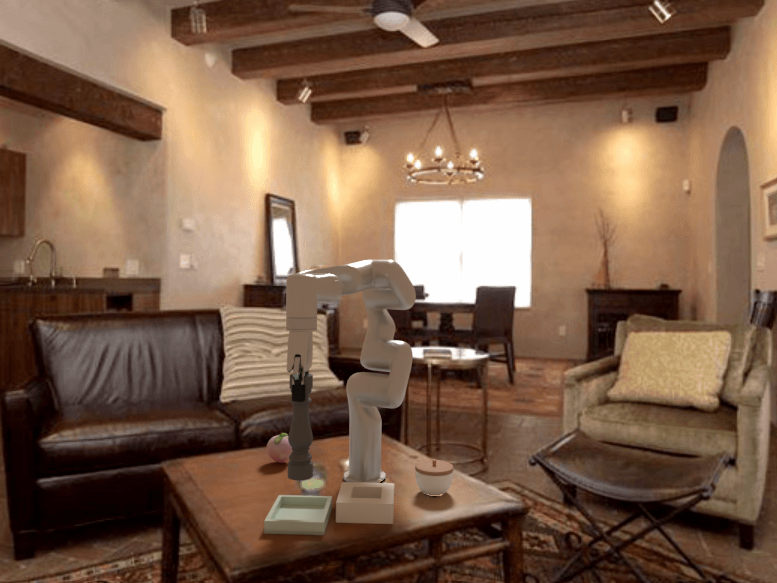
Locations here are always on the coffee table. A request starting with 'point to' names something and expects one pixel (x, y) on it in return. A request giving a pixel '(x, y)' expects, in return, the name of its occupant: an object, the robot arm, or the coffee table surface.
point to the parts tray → (299, 515)
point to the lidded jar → (434, 476)
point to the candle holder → (301, 435)
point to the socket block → (365, 503)
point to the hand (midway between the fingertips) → (300, 397)
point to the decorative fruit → (279, 448)
